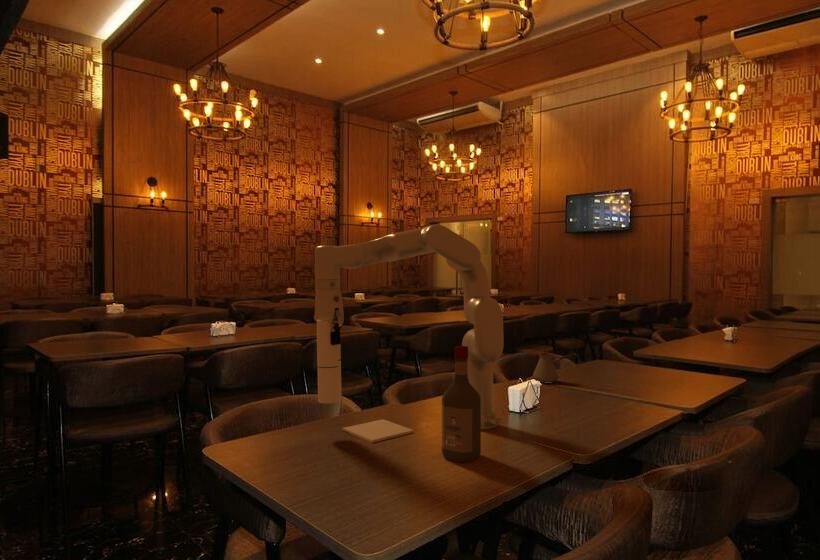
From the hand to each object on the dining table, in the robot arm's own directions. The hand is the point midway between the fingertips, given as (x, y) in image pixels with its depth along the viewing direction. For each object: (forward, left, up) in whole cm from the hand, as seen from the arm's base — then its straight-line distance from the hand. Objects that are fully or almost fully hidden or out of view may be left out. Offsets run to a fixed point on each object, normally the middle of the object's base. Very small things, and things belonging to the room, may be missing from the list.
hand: (328, 342), depth 165 cm
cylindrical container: (0, 0, -18) cm, 18 cm away
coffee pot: (+1, -119, -29) cm, 122 cm away
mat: (-7, -14, -28) cm, 32 cm away
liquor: (-40, -18, -29) cm, 52 cm away
